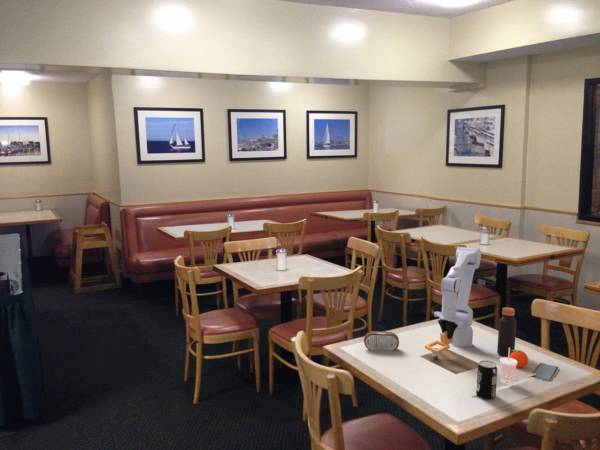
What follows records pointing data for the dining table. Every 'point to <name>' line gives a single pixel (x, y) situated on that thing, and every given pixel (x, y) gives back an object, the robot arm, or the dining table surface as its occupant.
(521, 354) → the clementine
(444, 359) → the plate
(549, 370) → the smartphone
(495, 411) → the dining table surface
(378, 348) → the tin
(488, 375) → the beverage can
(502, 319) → the bottle
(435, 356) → the chrome cabinet knob
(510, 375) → the beverage cup
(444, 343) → the orange square hoop tool
